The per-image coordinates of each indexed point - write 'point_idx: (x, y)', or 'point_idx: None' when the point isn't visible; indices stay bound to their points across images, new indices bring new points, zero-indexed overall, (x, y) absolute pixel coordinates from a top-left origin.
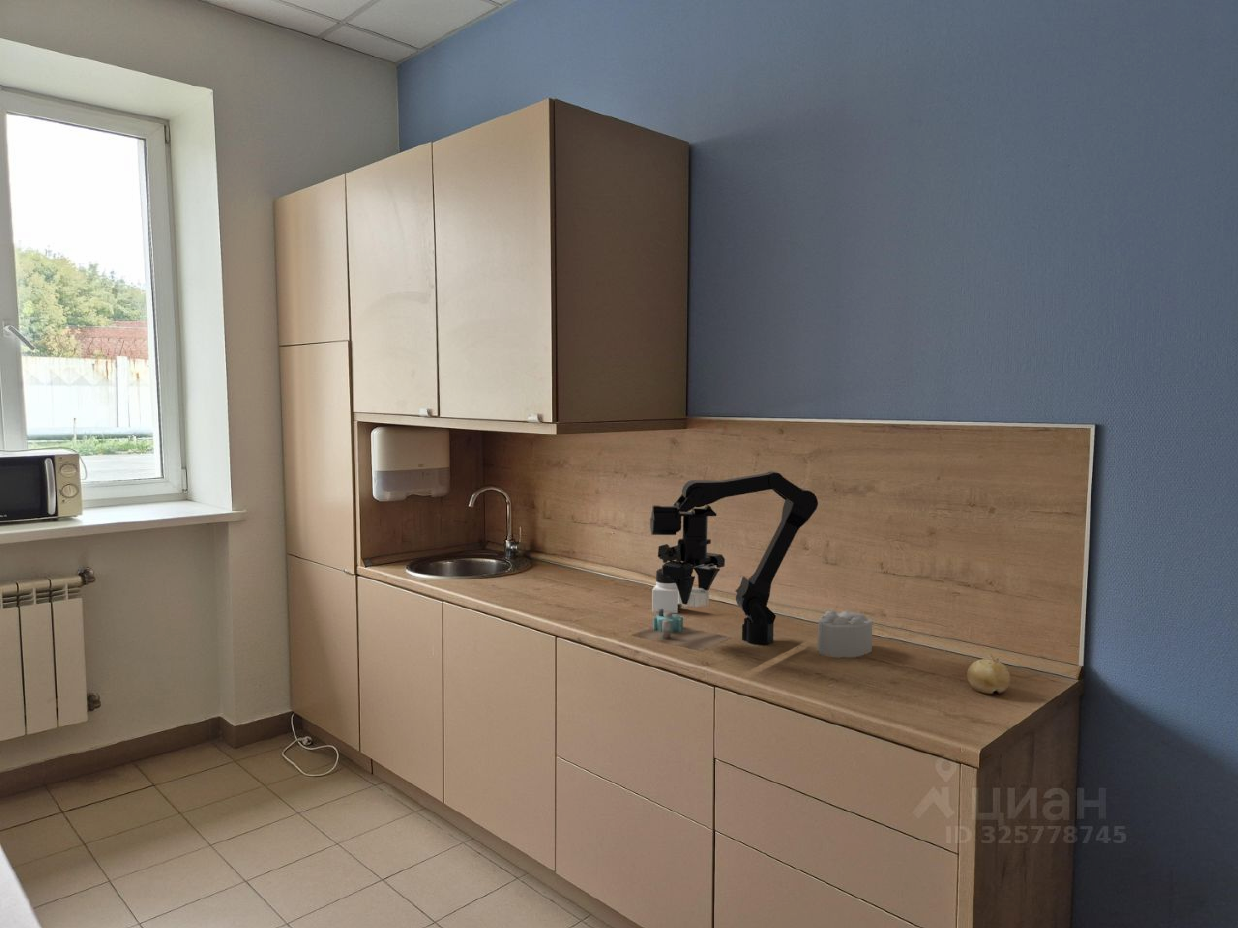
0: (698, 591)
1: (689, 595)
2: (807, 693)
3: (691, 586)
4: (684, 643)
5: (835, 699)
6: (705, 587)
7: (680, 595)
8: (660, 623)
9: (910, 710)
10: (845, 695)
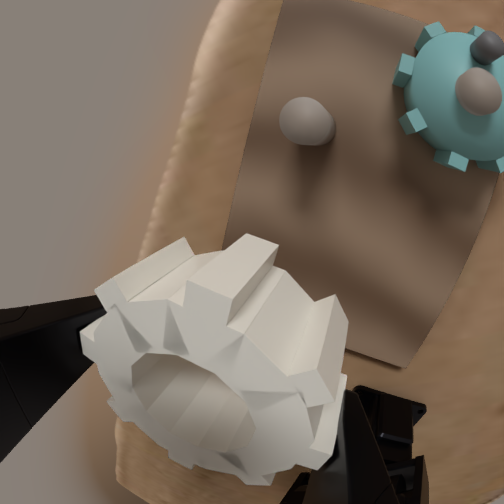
0: (253, 431)
1: (84, 365)
2: (132, 436)
3: (32, 409)
4: (268, 223)
5: (136, 453)
6: (312, 487)
7: (67, 304)
8: (397, 69)
9: (155, 488)
10: (154, 465)
